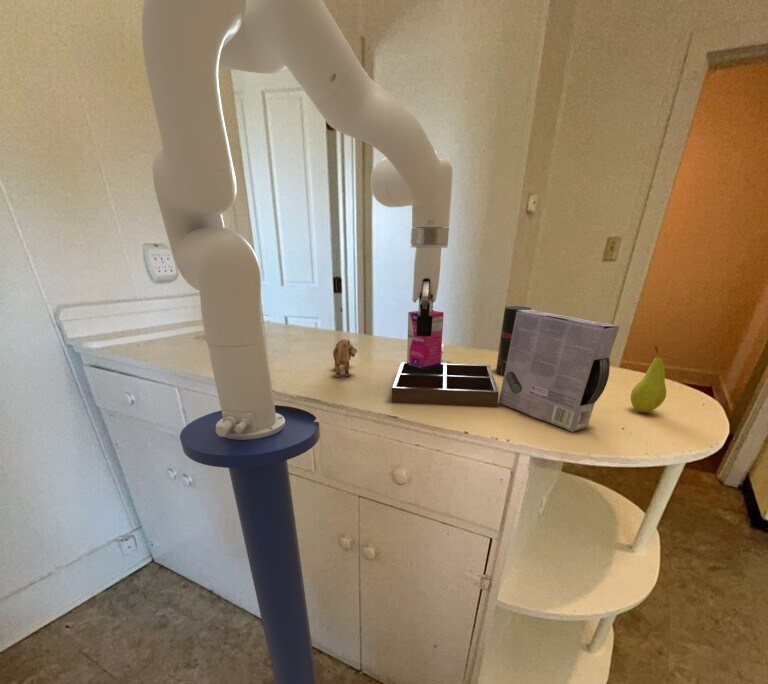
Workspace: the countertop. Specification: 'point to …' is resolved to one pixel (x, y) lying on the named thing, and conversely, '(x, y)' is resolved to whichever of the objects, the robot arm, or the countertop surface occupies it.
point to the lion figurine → (343, 355)
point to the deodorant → (507, 336)
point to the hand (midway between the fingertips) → (424, 331)
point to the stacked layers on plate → (441, 355)
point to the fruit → (650, 387)
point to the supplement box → (424, 342)
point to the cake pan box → (557, 367)
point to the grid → (446, 385)
